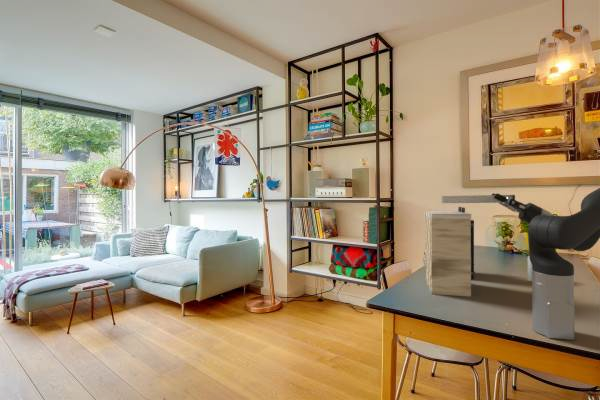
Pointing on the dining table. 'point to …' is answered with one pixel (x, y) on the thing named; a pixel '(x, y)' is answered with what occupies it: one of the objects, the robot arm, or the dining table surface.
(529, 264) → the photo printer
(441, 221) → the stand
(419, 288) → the dining table surface
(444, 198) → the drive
